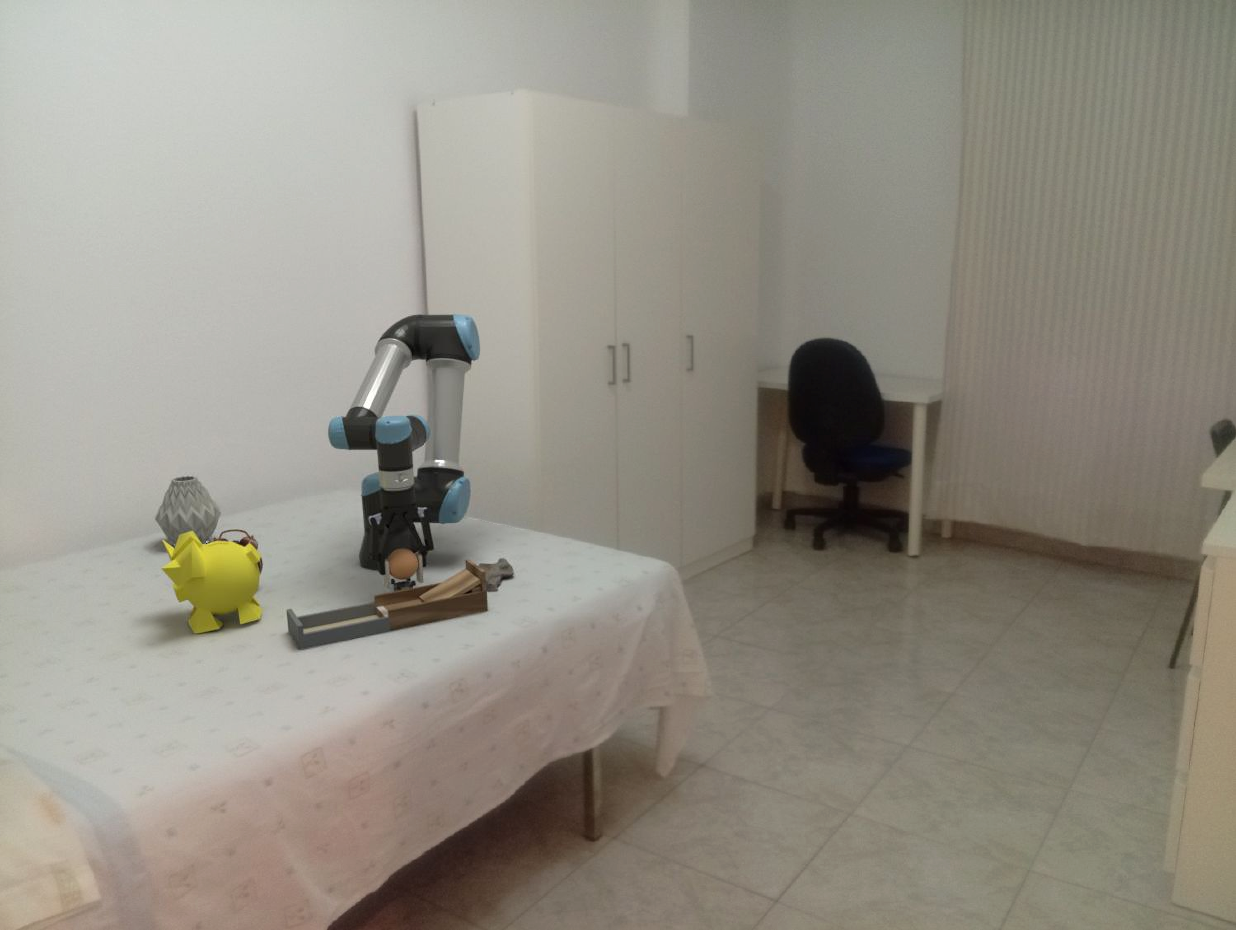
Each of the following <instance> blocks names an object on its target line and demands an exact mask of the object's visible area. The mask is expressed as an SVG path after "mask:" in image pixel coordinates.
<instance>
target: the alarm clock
mask: <svg viewBox="0 0 1236 930" xmlns="http://www.w3.org/2000/svg"><path fill="white" fill-rule="evenodd" d="M230 532H238V533H239V532H240V533H244V534H245V535H246V536H244V537H242V538H241V539H239V540H238V539H237V540H231V542H234V543H236V544H239V545H241V546H244V547H245V546H247V545H248V544H249V543H250V544H252V545H253V546H254V548H255V549H256V550H257V551H258V549H259V542H258V541H257V540H256V538H255V536H254V534H251V535H250V534H249V533H248V532H247V531H246V530H244V529H239V528H237V529H228V530H223V531H221V533H220V535H219V537H218V538H217V537H213V542H215V541H229V540H228V539H227V538H224V537H223V538H222V536H223V534H226V533H230ZM257 564H258V568H259V571H260V575H261V574H262V571H263V568H264V567H263V566H264V563H263V558H262V556H261V557H260V561H259V562H257Z"/></svg>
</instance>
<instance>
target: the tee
mask: <svg viewBox="0 0 1236 930" xmlns="http://www.w3.org/2000/svg"><path fill="white" fill-rule="evenodd" d="M416 581H417V580H416V579H415V580H414V579H413V580H412V579H411V577H410V578H408V579H405V580H400V581H398V582H396V578H390V585H392V586H393V587H392V588H393V592H394V591H400V590H405V589H410V588H414V587H415V586H416V585H417V584H416ZM416 587H417V586H416Z"/></svg>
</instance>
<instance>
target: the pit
mask: <svg viewBox="0 0 1236 930" xmlns="http://www.w3.org/2000/svg"><path fill="white" fill-rule="evenodd" d="M285 610H286V619H287V629H288V630H287V631H288V633H289V636H290V637H291V638H292V640H293V641H294V643H295V645H296V646H297V647H298V650H299V651H300V650H301V651H302V650H304V649H305V650H306V649H309V648H315V647H319V646H324V645H330V644H334V643H338V642H339V643H340V642H344V641H349V640H354V639H357V638H362V637H368V636H372V635H376V634H377V635H378V634H381V633H386V632H391V631H390V619H389V617H388V616H387V617H382V618H379V617H378V616H377V615H376V603H375V601H371V602H367V603H362V604H355V605H350V606H346V607H340V608H335V609H330V610H326V611H319V612H315V613H314V612H313V613H309V614H304V615H300V616H297V614H296V613H295V612H294V610H293V609H292V608H288V609H285Z"/></svg>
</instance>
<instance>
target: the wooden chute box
mask: <svg viewBox="0 0 1236 930" xmlns="http://www.w3.org/2000/svg"><path fill="white" fill-rule="evenodd" d="M373 600H374V602H375V603H376V615H377V616H378V617H379V618H382V617H387V616H388V617H389V619H390V631H389V632H392V631H396V630H401V629H406V628H410V627H414V626H419V625H425V624H429V623H430V624H431V623H435V622H439V621H444V620H450V619H453V618H459V617H463V616H464V617H465V616H468V615H473V614H477V613H482V612H488V610H489V609H488V608H489V607H488V591H486V572H485V571H484V570H483V569H482V568H480V567H479V565H477V564H476V563H475V562H473V561H472V560H470V559H469V558H468V559H465V568H464V569H463V570H461V571H459V572H458V573H456V574H454V575H453V576H450V577H449V578H448V579H446V580H444V581H442V582H438V583H432V584H426V585H422V586H416V587H415V586H414V587H413V588H410V589H405V590H400V591H394V590H393V591H389V592H386V593H385V592H384V593H379V594H375V595H374V597H373Z"/></svg>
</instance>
